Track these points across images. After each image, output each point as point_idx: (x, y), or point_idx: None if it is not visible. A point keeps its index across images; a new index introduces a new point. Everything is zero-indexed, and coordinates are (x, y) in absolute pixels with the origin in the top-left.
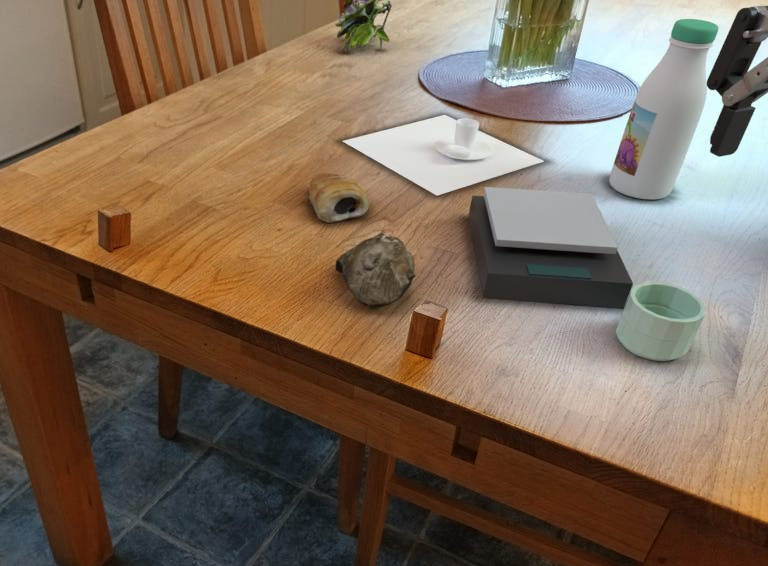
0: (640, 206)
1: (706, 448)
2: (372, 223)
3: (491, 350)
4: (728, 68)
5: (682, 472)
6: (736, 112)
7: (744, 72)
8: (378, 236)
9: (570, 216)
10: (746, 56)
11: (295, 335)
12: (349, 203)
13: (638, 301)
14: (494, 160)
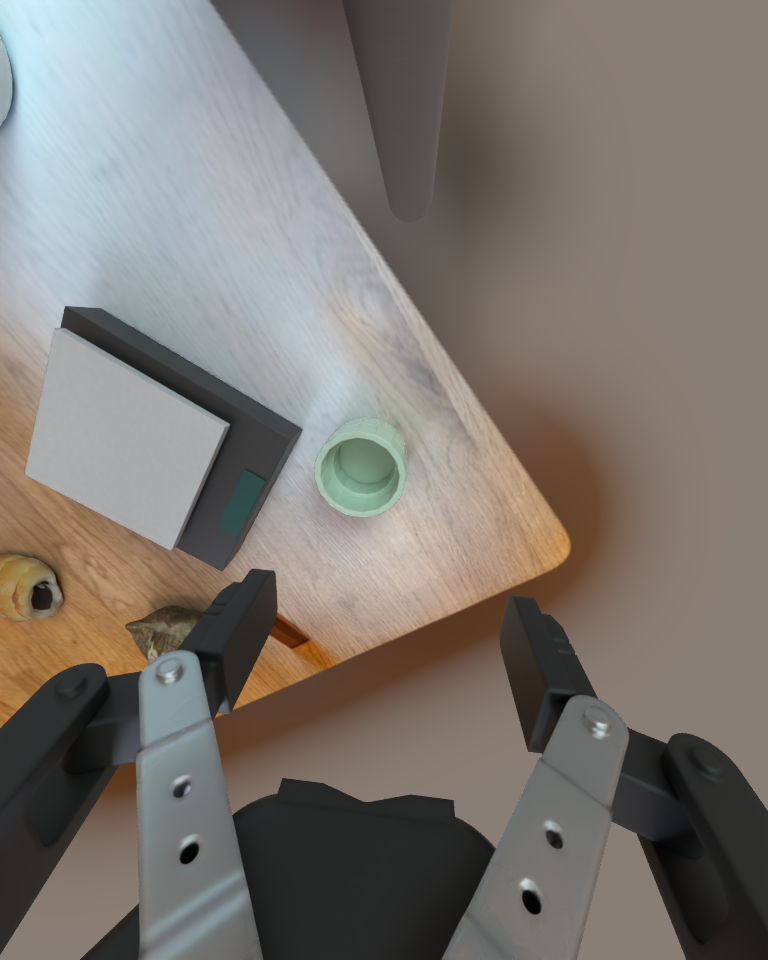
0: (38, 138)
1: (509, 530)
2: (67, 563)
3: (317, 594)
4: (80, 820)
5: (515, 569)
6: (231, 702)
7: (75, 734)
8: (133, 633)
9: (127, 423)
10: (24, 830)
11: (246, 699)
12: (38, 595)
13: (326, 465)
14: None
